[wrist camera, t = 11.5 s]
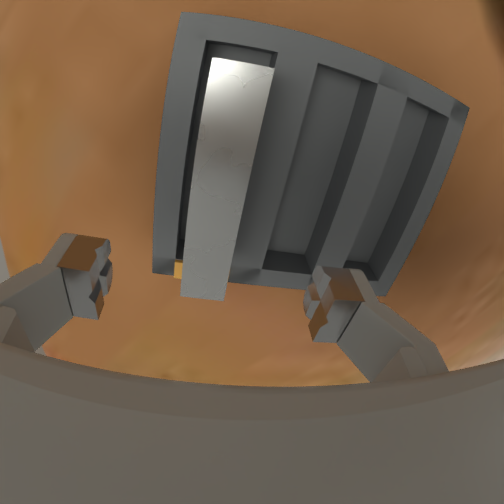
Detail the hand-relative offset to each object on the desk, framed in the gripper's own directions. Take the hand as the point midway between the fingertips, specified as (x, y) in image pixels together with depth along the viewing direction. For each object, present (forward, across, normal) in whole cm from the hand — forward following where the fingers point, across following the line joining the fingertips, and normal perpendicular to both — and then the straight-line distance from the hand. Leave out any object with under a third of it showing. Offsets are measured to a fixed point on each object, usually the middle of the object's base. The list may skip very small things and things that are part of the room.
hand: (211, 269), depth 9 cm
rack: (+13, -6, 0) cm, 14 cm away
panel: (+12, 0, 0) cm, 12 cm away
